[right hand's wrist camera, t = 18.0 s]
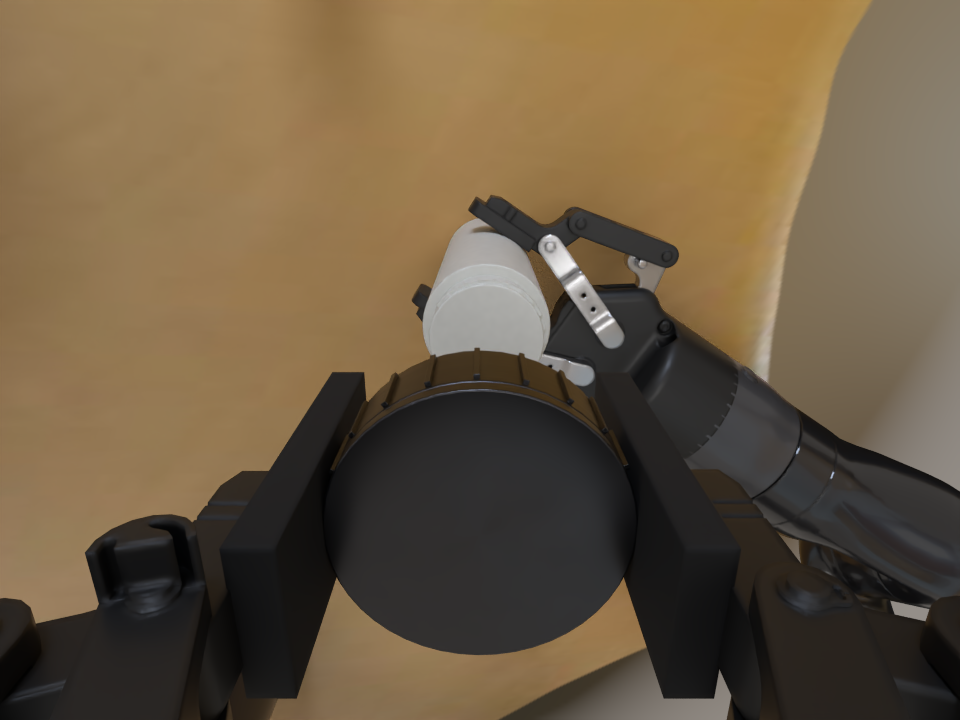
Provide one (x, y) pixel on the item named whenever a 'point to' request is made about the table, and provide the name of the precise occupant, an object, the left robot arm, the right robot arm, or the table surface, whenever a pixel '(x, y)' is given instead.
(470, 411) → the lid
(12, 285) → the table surface
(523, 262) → the jar
